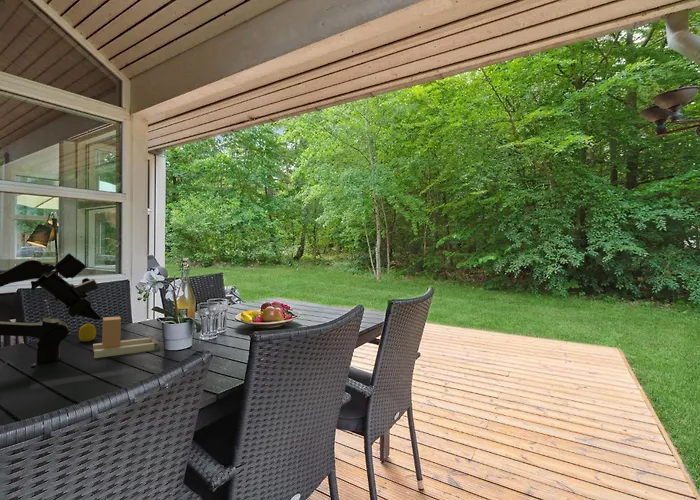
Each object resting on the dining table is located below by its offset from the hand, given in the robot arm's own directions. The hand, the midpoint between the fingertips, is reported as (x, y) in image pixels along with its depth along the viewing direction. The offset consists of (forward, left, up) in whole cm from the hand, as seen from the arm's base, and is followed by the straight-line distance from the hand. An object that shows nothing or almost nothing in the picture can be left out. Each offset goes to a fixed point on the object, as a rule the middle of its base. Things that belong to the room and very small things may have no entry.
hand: (99, 318), depth 125 cm
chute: (+4, -7, -13) cm, 16 cm away
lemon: (+17, +12, -14) cm, 25 cm away
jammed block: (+2, -3, -12) cm, 13 cm away
